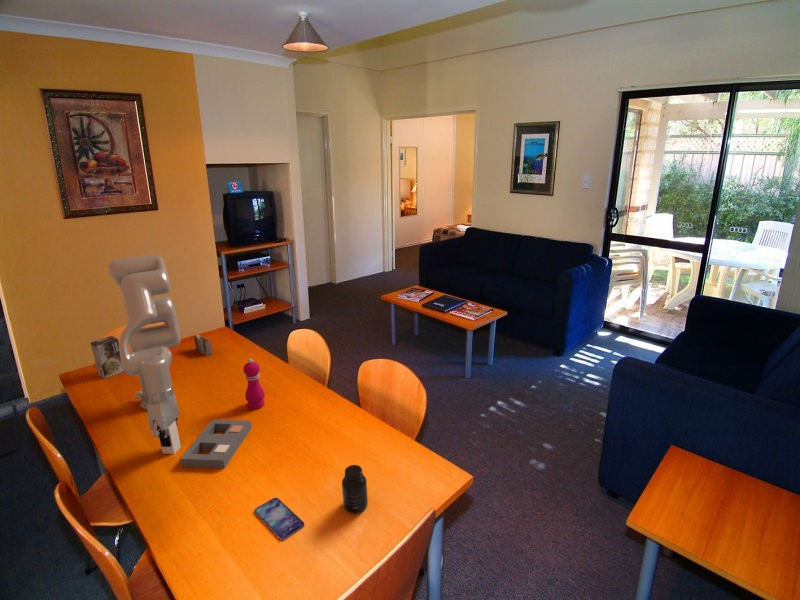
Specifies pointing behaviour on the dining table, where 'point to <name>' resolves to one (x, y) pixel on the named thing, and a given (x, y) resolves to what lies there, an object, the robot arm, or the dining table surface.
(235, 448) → the socket board
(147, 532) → the dining table surface
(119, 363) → the coffee box
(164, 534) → the dining table surface
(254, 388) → the pepper mill
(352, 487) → the supplement bottle
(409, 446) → the dining table surface
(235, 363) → the dining table surface
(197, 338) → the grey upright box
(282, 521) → the smartphone
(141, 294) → the robot arm
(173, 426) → the plug
